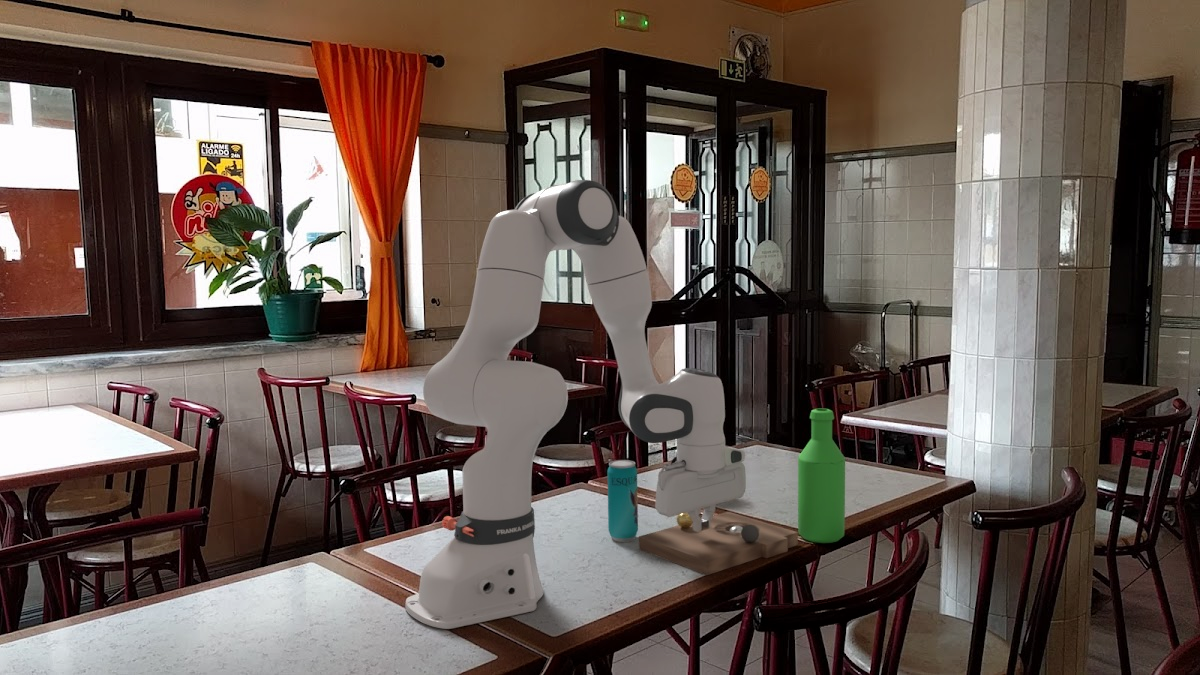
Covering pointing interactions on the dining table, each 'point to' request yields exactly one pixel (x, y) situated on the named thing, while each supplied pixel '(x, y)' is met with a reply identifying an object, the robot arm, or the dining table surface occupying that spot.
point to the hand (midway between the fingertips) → (701, 529)
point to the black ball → (750, 533)
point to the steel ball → (736, 529)
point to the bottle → (821, 483)
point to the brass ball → (684, 520)
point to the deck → (717, 543)
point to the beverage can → (622, 500)
